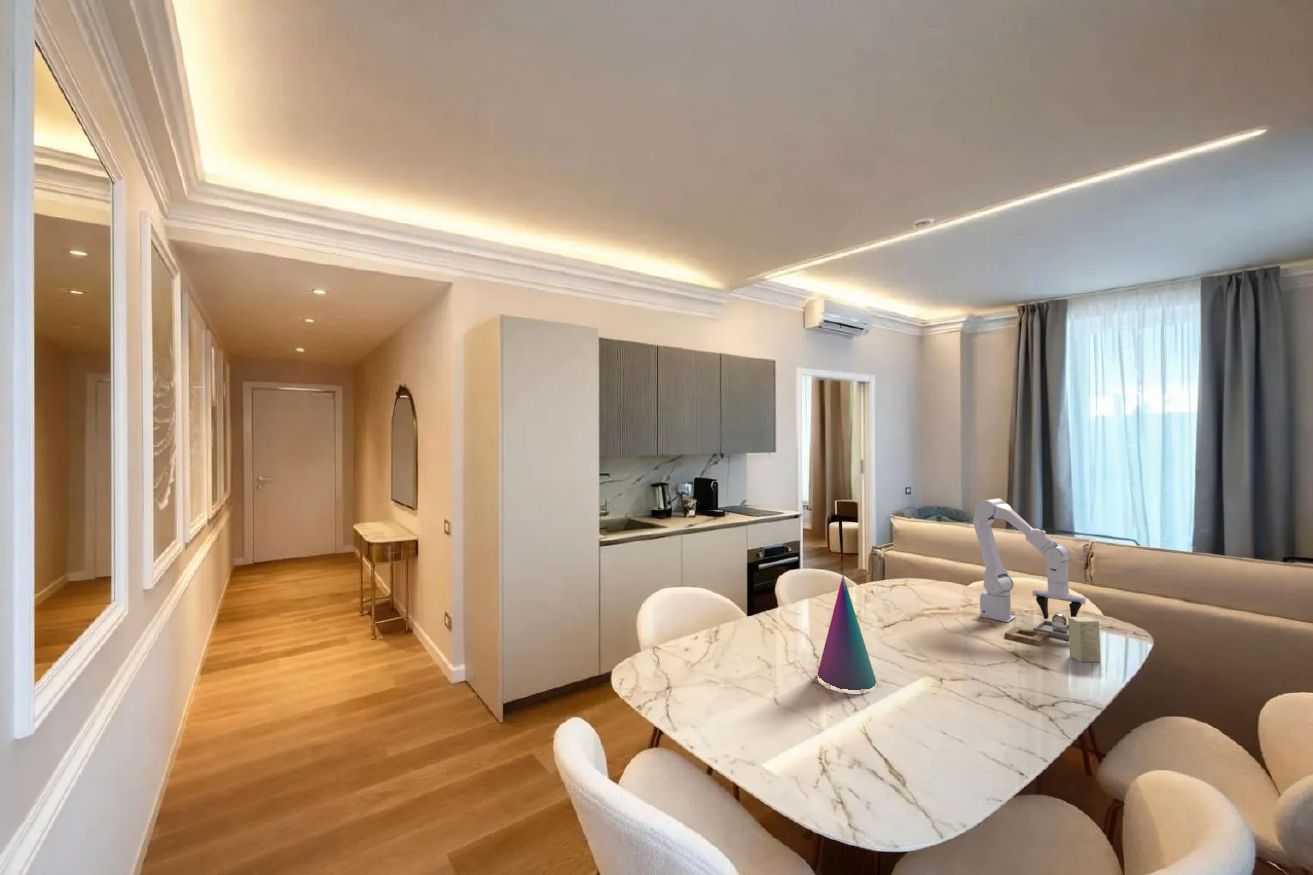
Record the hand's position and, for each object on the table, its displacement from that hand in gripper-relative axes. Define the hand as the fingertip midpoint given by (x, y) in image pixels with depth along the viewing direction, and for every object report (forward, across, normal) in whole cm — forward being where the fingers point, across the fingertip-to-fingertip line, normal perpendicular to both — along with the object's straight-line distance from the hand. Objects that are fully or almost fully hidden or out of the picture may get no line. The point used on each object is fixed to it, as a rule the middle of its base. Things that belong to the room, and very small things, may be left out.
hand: (1059, 620), depth 181 cm
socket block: (+4, -6, -13) cm, 15 cm away
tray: (+4, 0, 0) cm, 4 cm away
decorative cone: (+4, -29, -86) cm, 91 cm away
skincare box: (+4, +11, -21) cm, 24 cm away
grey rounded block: (+4, 0, 0) cm, 4 cm away
